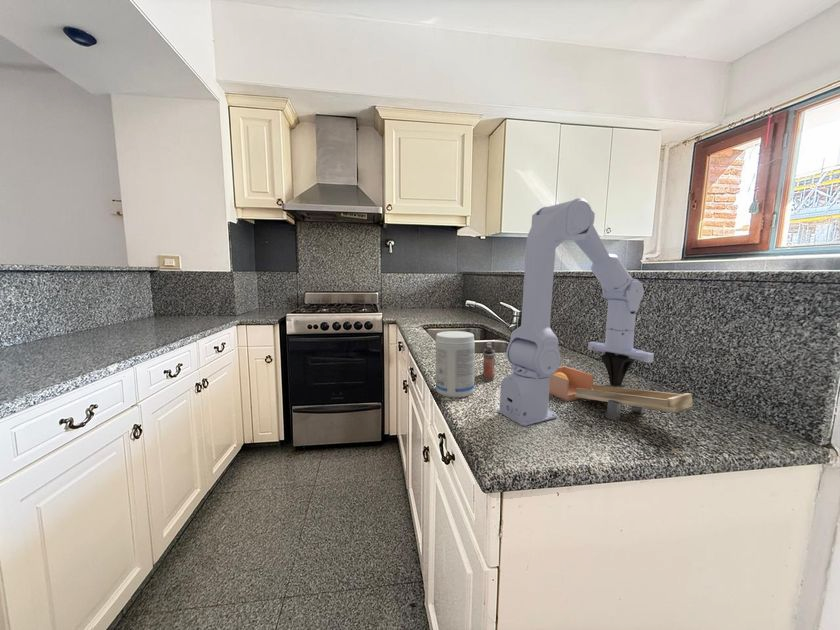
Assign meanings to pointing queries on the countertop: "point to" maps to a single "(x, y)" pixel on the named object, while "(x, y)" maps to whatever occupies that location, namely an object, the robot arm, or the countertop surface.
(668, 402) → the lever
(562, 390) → the tray
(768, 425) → the countertop surface
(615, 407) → the pivot stand
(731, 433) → the countertop surface
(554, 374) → the ball
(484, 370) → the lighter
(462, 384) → the supplement tub
